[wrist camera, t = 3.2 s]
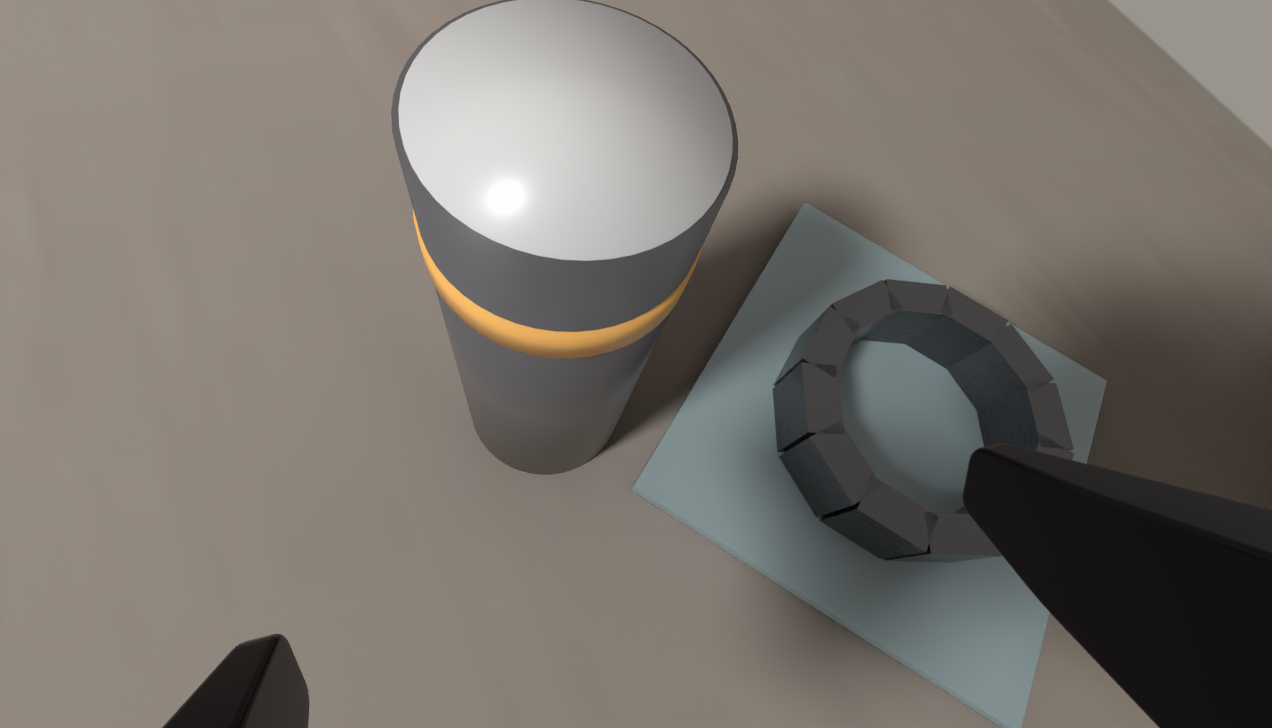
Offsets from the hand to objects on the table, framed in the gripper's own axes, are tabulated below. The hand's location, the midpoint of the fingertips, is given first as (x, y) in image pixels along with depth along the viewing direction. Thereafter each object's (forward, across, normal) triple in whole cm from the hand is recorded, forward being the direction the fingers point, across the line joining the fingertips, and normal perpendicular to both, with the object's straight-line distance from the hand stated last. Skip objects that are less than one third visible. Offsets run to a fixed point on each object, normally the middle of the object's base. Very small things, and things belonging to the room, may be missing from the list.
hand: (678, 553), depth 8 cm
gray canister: (+13, 0, +4) cm, 14 cm away
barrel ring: (+10, -12, +6) cm, 17 cm away
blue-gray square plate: (+10, -12, +7) cm, 17 cm away
